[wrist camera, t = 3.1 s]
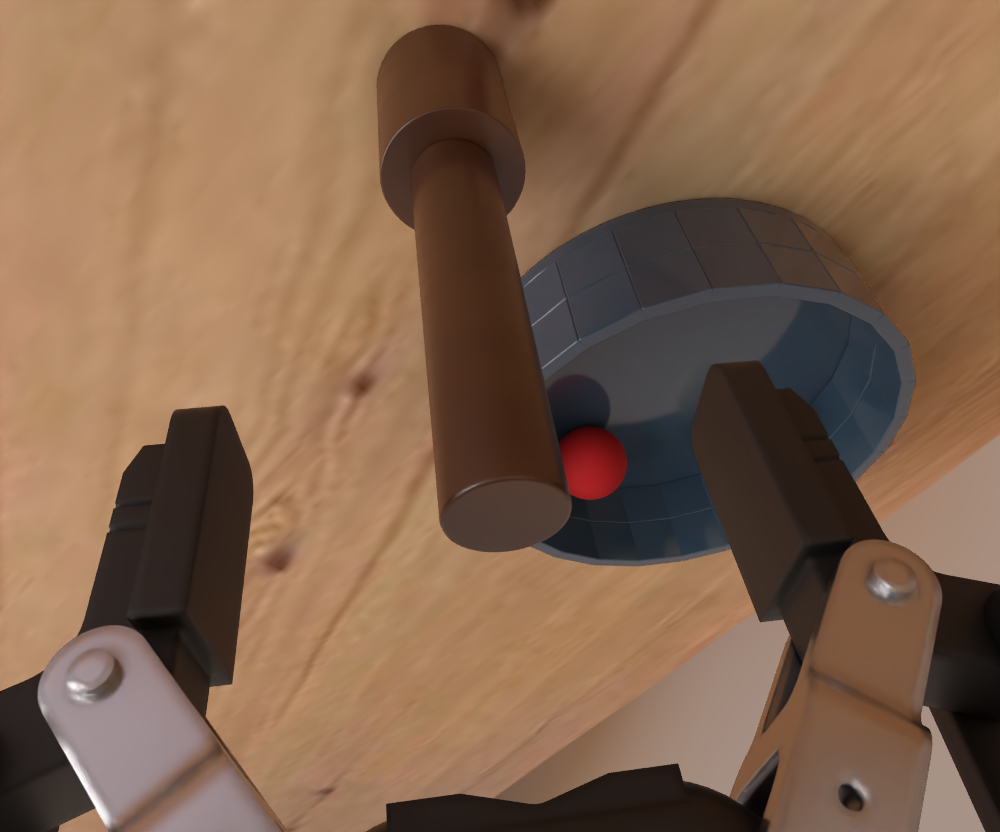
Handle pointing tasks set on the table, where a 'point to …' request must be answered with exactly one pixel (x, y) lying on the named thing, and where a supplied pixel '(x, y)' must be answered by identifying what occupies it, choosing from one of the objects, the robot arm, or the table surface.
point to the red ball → (592, 462)
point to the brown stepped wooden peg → (470, 289)
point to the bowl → (702, 357)
